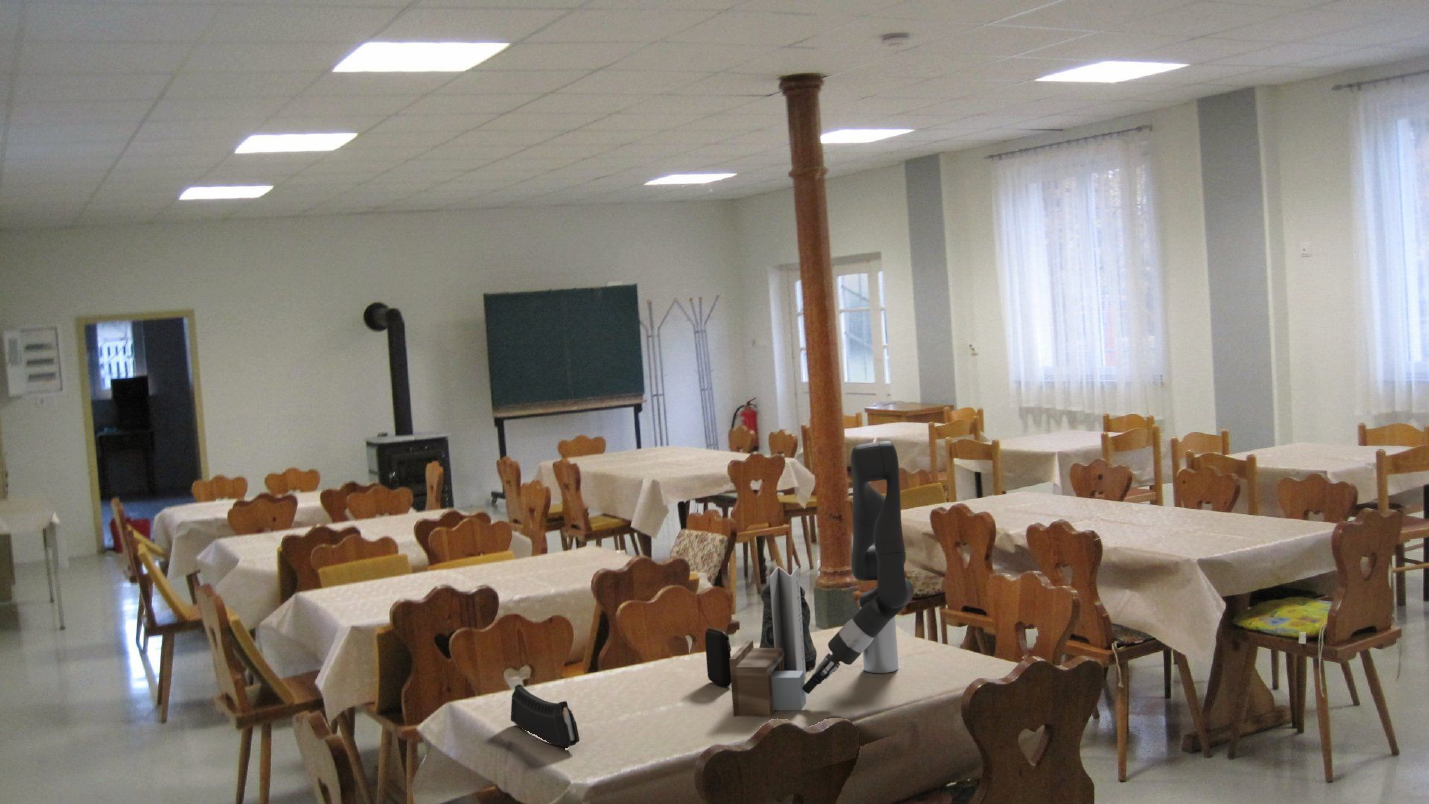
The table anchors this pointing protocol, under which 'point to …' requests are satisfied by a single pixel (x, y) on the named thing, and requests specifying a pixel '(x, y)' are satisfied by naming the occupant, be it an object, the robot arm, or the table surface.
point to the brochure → (788, 618)
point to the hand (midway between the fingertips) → (805, 690)
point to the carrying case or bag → (718, 657)
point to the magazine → (544, 718)
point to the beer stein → (809, 648)
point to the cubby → (754, 679)
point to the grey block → (788, 690)
